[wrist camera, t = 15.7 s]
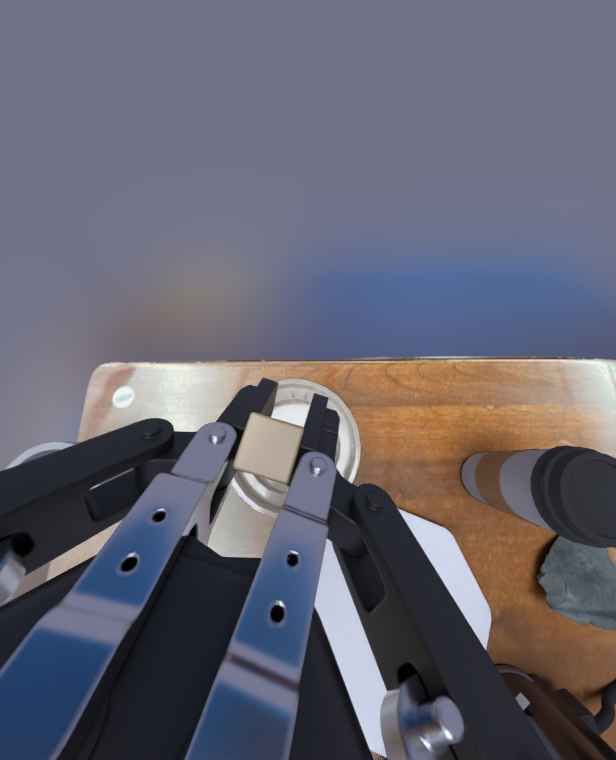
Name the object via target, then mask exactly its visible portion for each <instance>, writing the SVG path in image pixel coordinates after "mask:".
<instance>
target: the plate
mask: <svg viewBox="0 0 616 760" xmlns="http://www.w3.org/2000/svg"><path fill="white" fill-rule="evenodd" d="M397 509H398V508H397ZM398 510H399V512H400V513H401V515H402V517H403V518H404V520H405V521H406V523H407V525H408V526H409V528H410V529H411V531H412V533H413V534H414V536H415V537H416V539H417V541H418V542H419V544H420V545H421V547H422V549H423V550H424V552H425V554H426V555H427V557H428V558H429V560H430V562H431V563H432V565H433V566H434V568H435V570H436V571H437V573H438V574H439V576H440V578H441V579H442V581H443V582H444V584H445V586H446V587H447V589H448V591H449V592H450V594H451V595H452V597H453V599H454V600H455V602H456V603H457V605H458V607H459V608H460V610H461V611H462V613H463V615H464V616H465V618H466V619H467V621H468V623H469V624H470V626H471V627H472V629H473V631H474V632H475V634H476V636H477V637H478V639H479V640H480V642H481V644H482V645H483V647H484V648H485V650H486V648H487V643H488V637H489V632H490V626H491V621H492V619H491V612H490V608H489V606H488V604H487V602H486V600H485V598H484V596H483V594H482V592H481V590H480V588H479V586H478V584H477V582H476V580H475V578H474V576H473V574H472V572H471V570H470V568H469V566H468V564H467V562H466V560H465V558H464V556H463V554H462V553H461V551H460V549H459V547H458V545H457V543H456V541H455V539H454V537H453V535H452V534H451V533H450V532H449V531H448V530H447V529H446V528H444V527H442V526H439V525H437V524H434V523H432V522H429V521H427V520H425V519H422V518H420V517H417V516H415V515H412V514H410V513H408V512H405V511H403V510H400V509H398ZM314 606H315V608H316V610H317V612H318V614H319V616H320V619H321V621H322V624H323V626H324V629H325V632H326V634H327V637H328V640H329V642H330V645H331V648H332V650H333V653H334V656H335V658H336V661H337V664H338V666H339V669H340V672H341V674H342V677H343V680H344V682H345V685H346V688H347V690H348V693H349V696H350V698H351V701H352V704H353V706H354V709H355V712H356V714H357V717H358V720H359V722H360V725H361V728H362V730H363V733H364V736H365V738H366V741H367V744H368V746H369V749H370V750H371V751H373V752H375V753H377V754H379V755H381V756H384V757H386V758H387V755H386V750H385V746H384V742H383V738H382V734H381V727H380V711H381V705H382V701H383V698H384V696H385V694H386V693H387V690H386V688H385V685H384V682H383V680H382V677H381V674H380V672H379V669H378V666H377V664H376V661H375V658H374V656H373V653H372V650H371V648H370V645H369V642H368V640H367V637H366V634H365V632H364V629H363V626H362V624H361V621H360V618H359V616H358V613H357V610H356V608H355V605H354V603H353V600H352V597H351V595H350V592H349V589H348V587H347V584H346V581H345V579H344V576H343V573H342V571H341V568H340V565H339V563H338V560H337V557H336V555H335V552H334V549H333V546H332V542H331V541H330V540H328V539H327V540H326V545H325V551H324V556H323V561H322V566H321V572H320V577H319V582H318V588H317V593H316V598H315V604H314Z"/></svg>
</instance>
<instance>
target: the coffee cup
mask: <svg viewBox="0 0 616 760" xmlns="http://www.w3.org/2000/svg"><path fill="white" fill-rule="evenodd" d="M461 476H462V481H463V484H464V486H465V488H466V489H467V491H468V492H469V493H470V495H472V496H473V497H474V498H475V499H477V500H479V501H481V502H483V503H486V504H488V505H490V506H492V507H494V508H496V509H498V510H501V511H503V512H506V513H508V514H510V515H513V516H515V517H517V518H520V519H522V520H525V521H527V522H529V523H532V524H534V525H536V526H540V527H543V528H546V529H548V530H551V531H553V532H556V533H557V534H558V535H560V536H561V537H563V538H565V539H567V540H569V541H571V542H574V543H579V544H583V545H587V546H592V547H597V548H607V547H614V548H615V547H616V458H613V457H611V456H609V455H607V454H602V453H600V452H597V451H595V450H593V449H588V448H582V447H572V446H558V447H555V448H552V449H541V450H540V449H527V450H512V451H497V452H488V453H477V454H475V455H472V456H471V457H469V458H468V459H467V460H466V462H465V463H464V465H463V468H462V475H461Z"/></svg>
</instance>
